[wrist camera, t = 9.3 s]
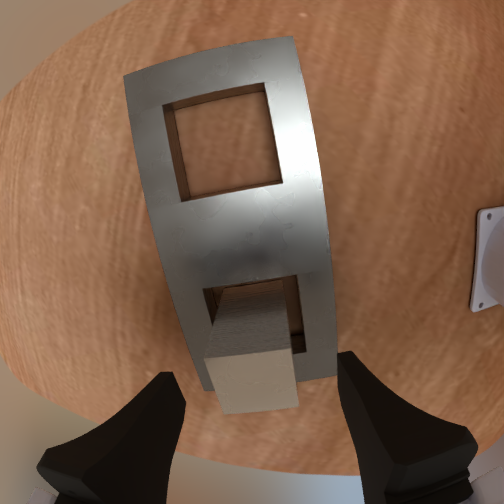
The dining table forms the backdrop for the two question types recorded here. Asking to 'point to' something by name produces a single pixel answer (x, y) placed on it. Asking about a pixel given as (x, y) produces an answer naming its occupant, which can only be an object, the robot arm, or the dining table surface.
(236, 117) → the dining table surface
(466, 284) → the dining table surface
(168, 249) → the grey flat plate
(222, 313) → the grey square peg
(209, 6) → the dining table surface
